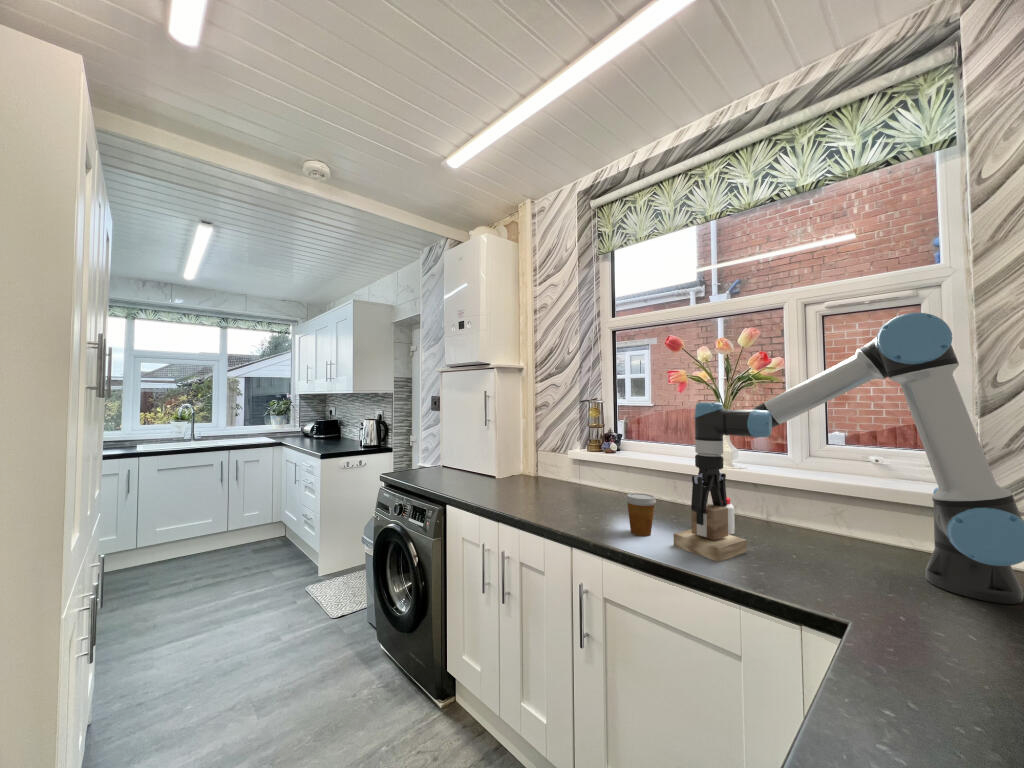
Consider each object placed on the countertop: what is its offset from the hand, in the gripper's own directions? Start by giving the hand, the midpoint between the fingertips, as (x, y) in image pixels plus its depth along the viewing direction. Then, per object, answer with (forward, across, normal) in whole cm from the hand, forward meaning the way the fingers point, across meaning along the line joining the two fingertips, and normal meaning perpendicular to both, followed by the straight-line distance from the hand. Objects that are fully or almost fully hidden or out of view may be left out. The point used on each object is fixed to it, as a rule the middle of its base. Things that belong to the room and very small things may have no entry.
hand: (709, 533), depth 119 cm
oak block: (+5, 0, 0) cm, 5 cm away
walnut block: (0, 0, 0) cm, 0 cm away
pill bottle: (+5, -20, -8) cm, 22 cm away
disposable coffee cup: (+5, +6, -20) cm, 21 cm away
